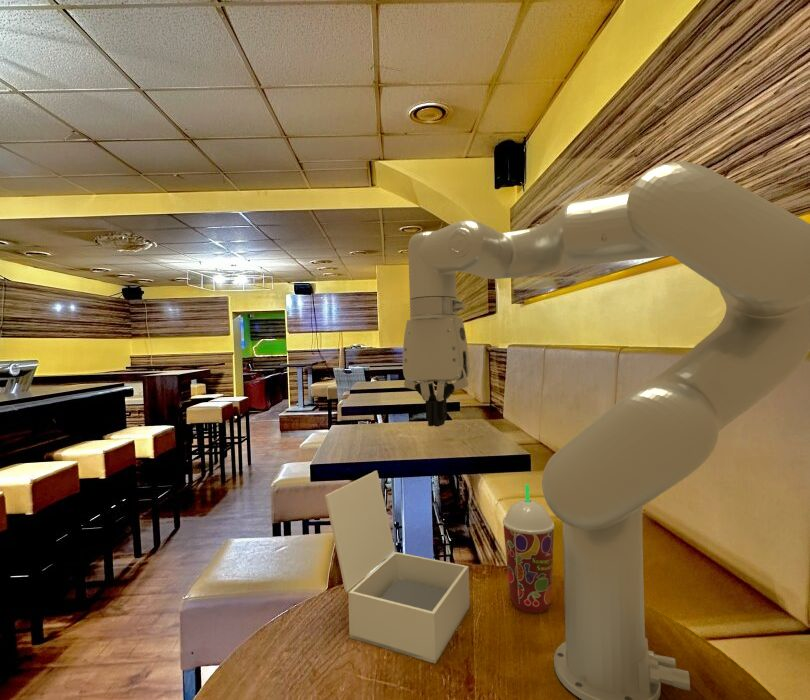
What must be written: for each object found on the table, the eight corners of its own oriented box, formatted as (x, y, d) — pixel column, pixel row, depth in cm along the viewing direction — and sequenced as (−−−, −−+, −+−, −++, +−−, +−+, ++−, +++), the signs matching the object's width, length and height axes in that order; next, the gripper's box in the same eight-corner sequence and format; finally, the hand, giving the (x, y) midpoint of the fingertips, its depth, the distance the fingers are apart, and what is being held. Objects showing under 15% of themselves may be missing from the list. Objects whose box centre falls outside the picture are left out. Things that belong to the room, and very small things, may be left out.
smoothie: (546, 624, 69) (542, 495, 70) (496, 607, 74) (493, 487, 75) (563, 600, 76) (560, 482, 76) (517, 585, 81) (513, 475, 81)
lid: (377, 470, 83) (374, 470, 83) (326, 495, 69) (324, 495, 69) (395, 550, 81) (392, 550, 82) (347, 591, 67) (344, 591, 68)
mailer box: (469, 607, 75) (468, 566, 75) (435, 663, 61) (433, 614, 61) (395, 589, 81) (394, 551, 81) (349, 637, 68) (348, 592, 68)
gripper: (485, 309, 72) (488, 423, 72) (402, 315, 79) (405, 419, 79) (470, 305, 65) (474, 431, 65) (381, 312, 72) (384, 426, 72)
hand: (436, 424), depth 72 cm, fingers closed
